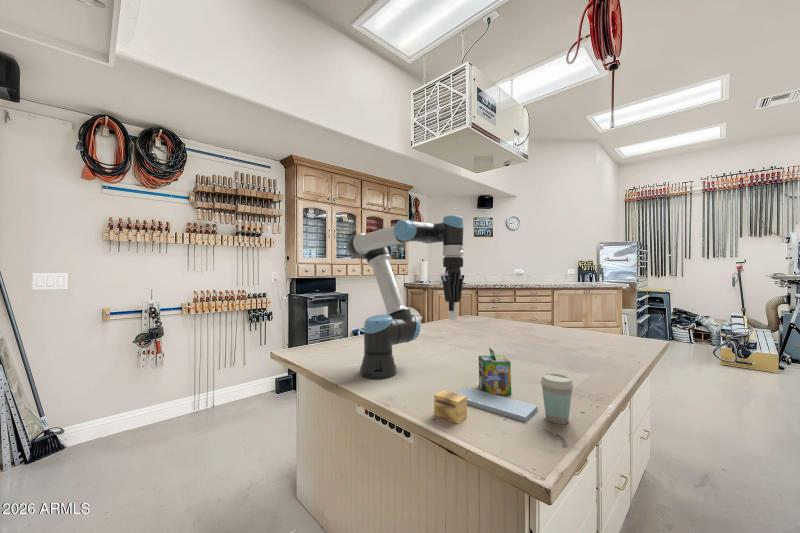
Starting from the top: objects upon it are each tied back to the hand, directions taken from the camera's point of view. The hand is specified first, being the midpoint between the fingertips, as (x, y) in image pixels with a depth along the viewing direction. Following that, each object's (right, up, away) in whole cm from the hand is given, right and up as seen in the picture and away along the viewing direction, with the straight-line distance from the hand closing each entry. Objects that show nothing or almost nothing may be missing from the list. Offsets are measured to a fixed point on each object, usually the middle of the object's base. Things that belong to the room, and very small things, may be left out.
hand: (453, 319), depth 121 cm
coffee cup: (+25, -24, -29) cm, 45 cm away
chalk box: (+14, -24, -7) cm, 29 cm away
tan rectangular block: (-5, -24, -27) cm, 37 cm away
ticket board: (+10, -24, -19) cm, 32 cm away
